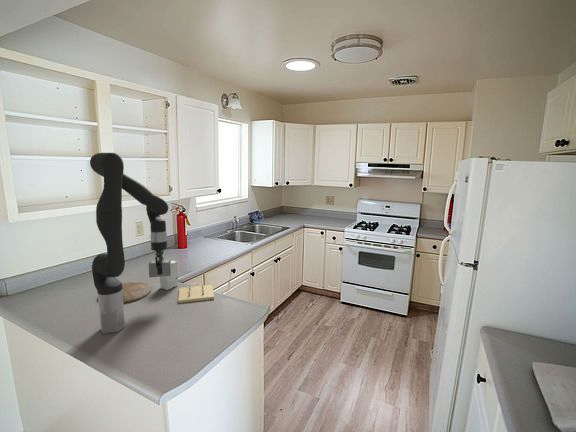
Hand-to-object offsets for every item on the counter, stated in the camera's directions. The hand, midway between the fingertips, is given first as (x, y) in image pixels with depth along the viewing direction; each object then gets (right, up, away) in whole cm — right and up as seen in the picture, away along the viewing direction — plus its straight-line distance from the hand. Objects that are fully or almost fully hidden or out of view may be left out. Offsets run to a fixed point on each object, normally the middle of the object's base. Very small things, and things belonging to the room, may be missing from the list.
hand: (160, 272), depth 153 cm
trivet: (-24, -14, +12) cm, 31 cm away
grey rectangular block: (0, -1, 0) cm, 1 cm away
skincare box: (-4, -13, +22) cm, 26 cm away
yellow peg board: (+14, -15, +13) cm, 24 cm away
